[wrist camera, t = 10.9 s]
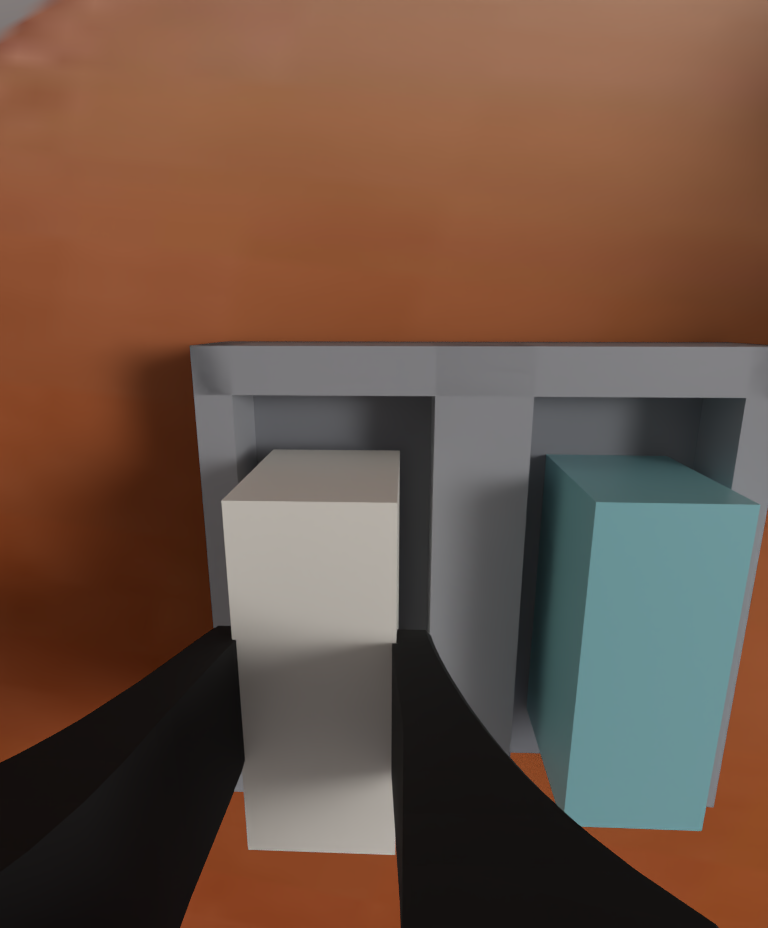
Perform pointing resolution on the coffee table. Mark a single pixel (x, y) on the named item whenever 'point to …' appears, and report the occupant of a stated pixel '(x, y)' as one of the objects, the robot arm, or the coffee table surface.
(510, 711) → the grey two-slot rack
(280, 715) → the tall white block
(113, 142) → the coffee table surface
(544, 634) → the tall teal prism
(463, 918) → the robot arm
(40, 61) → the coffee table surface
